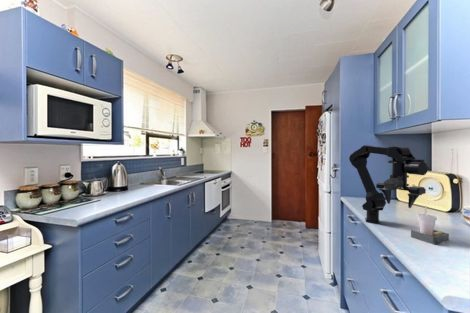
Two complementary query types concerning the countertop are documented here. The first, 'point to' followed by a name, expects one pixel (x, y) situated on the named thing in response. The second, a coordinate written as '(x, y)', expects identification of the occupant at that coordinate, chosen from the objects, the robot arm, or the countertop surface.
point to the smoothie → (426, 223)
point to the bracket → (431, 237)
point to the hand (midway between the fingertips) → (398, 205)
